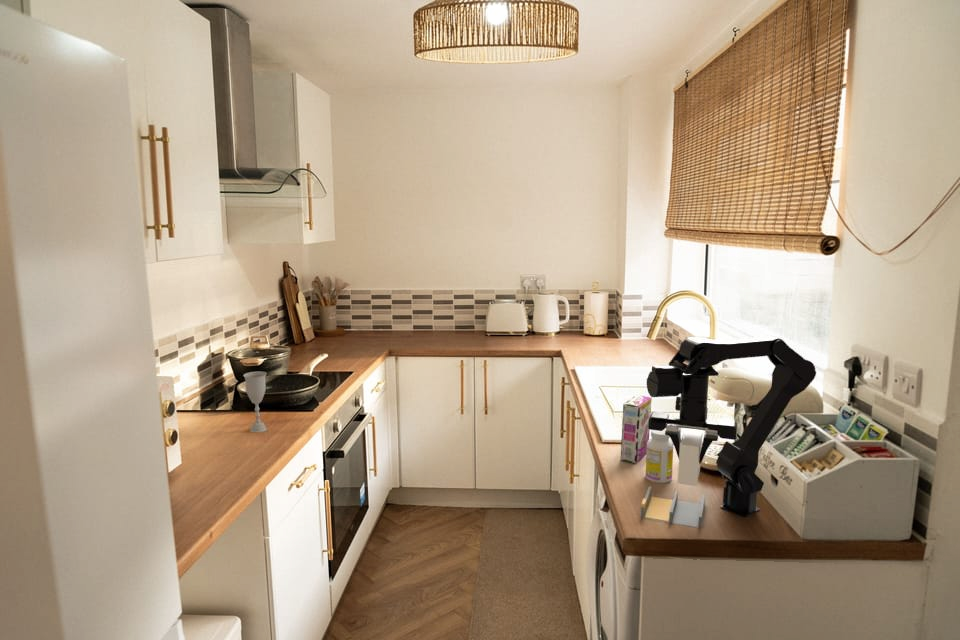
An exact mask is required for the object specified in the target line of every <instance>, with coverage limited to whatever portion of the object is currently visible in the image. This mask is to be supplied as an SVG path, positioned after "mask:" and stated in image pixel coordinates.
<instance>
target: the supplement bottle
mask: <svg viewBox="0 0 960 640" xmlns="http://www.w3.org/2000/svg"><path fill="white" fill-rule="evenodd" d="M665 431H666V428H665V429H664V430H663V431H657V430H651V431H650V437H651V438H649V440H648V442H647V451H646V454H645V455H646V456H645V459H646V460H645V478H646V479H647V480H649V481H650V482H653V483H657V484H658V483H659V484H665V483H669V482H671V481H672V478H673V465H674V464H673V461H674V459H673V458H674V444H673V442H672V440H671V439H670V436H669V435H665Z"/></svg>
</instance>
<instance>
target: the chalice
mask: <svg viewBox="0 0 960 640" xmlns="http://www.w3.org/2000/svg"><path fill="white" fill-rule="evenodd" d="M267 373H268V372H266V371H259V370H258V371H250V372H246V373H244V374H243V377H244V380H245V382H244V383H245V392H246V394H247V396H248V398H249V400H250V401H251V403H252V404H254V405H255V408H254V411H255V414H254V417H255V421H254V422H253V423H252V424H251V427H250V429H249V432H250V433H253V434H254V433H257V434H258V433H264V432H265V431H267V427H266V425H265V423H264V422H263V421H261V420H260V416H261V414H260V409H261V408H260V407H259V404H261V403H262V401H263V399H264V396H265V393H266V388H267V387H266V386H267V385H266V376H267Z"/></svg>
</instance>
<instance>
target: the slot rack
mask: <svg viewBox="0 0 960 640" xmlns="http://www.w3.org/2000/svg"><path fill="white" fill-rule="evenodd" d="M678 497H679V490H678V489H677V490H675V491H674V494H673V499H672V498H665V497H658V496H653V495H652V486H648V488H647V490H646V494H645V496H644V498H642V501H641V503H640V504H641V505H640V506H641V507H640V519H644V520H648V521H649V520H650V521H656V522H662V523H669V524H674V525H681V526H686V527H692V528H698V529H701V528H702V524H703V519H704V518H703V517H704V512H705V505H706V494H704V493H702V495H701V502H700V503H698V502H697V503H696V502H691V501H684V500H679V499H678Z"/></svg>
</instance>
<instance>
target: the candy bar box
mask: <svg viewBox="0 0 960 640" xmlns="http://www.w3.org/2000/svg"><path fill="white" fill-rule="evenodd" d="M652 398H653V397H651V396H650V397H649V396H644V395H637V394H636V395H634V396H633V397H632V398H630V399H629V400H627V401H626V402H624V403H623V404H622V407H623V408H622V424H621V441H620V443H621V444H620V461H622V462H628V463H631V464H637V463H638V462H640V460H641V459H643V458H644V456H645V455H646V451H647V442H648V440H650V432H651V431H650V429H648V422H649V418H650V415H651V414H652V412H651V411H652Z"/></svg>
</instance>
